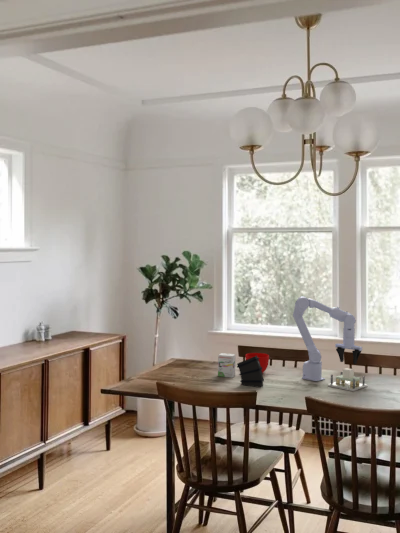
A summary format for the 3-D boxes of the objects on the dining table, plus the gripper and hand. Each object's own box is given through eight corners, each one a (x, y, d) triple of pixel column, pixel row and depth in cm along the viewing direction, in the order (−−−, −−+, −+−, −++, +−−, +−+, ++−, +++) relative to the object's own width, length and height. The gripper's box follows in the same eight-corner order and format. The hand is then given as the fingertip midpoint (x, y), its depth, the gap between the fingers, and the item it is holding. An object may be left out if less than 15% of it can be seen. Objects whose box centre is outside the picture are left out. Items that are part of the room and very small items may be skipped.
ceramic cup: (275, 371, 320) (276, 353, 320) (262, 376, 306) (262, 358, 305) (255, 368, 327) (255, 350, 327) (241, 373, 313) (241, 355, 312)
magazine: (266, 385, 280) (255, 356, 282) (244, 393, 285) (233, 365, 288) (269, 383, 283) (257, 355, 286) (247, 391, 289) (236, 364, 291)
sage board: (335, 378, 287) (335, 368, 287) (342, 376, 292) (343, 366, 292) (353, 381, 280) (353, 371, 280) (360, 379, 285) (360, 369, 285)
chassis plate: (327, 386, 286) (328, 375, 285) (342, 381, 296) (342, 371, 295) (353, 391, 276) (353, 379, 276) (367, 386, 286) (367, 375, 286)
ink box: (217, 376, 305) (217, 354, 305) (220, 374, 310) (220, 352, 310) (232, 377, 302) (232, 355, 302) (235, 375, 307) (235, 354, 307)
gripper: (365, 337, 295) (364, 363, 295) (340, 334, 305) (340, 359, 305) (358, 339, 290) (358, 365, 290) (333, 335, 300) (333, 361, 300)
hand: (348, 362), depth 297 cm, fingers open, 7 cm apart
